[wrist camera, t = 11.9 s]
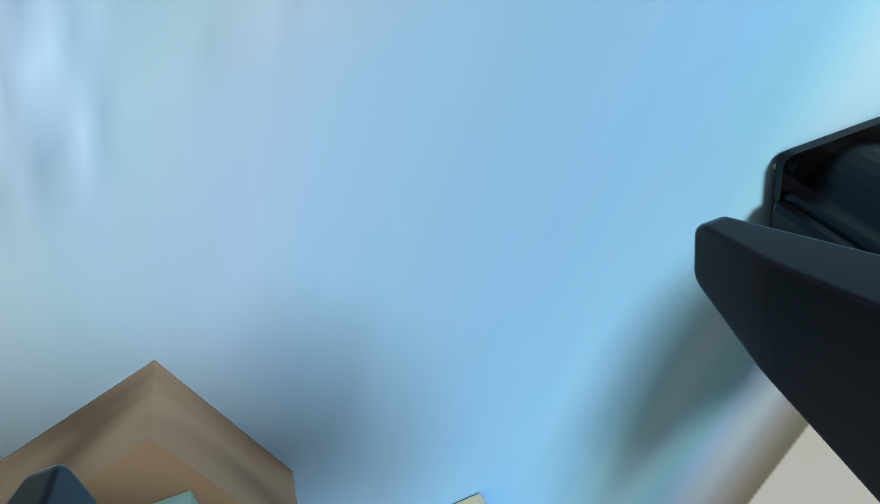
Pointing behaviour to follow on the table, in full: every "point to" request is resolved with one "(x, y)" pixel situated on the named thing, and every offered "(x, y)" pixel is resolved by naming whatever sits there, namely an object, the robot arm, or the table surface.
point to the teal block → (180, 499)
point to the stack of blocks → (473, 500)
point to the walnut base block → (154, 449)
